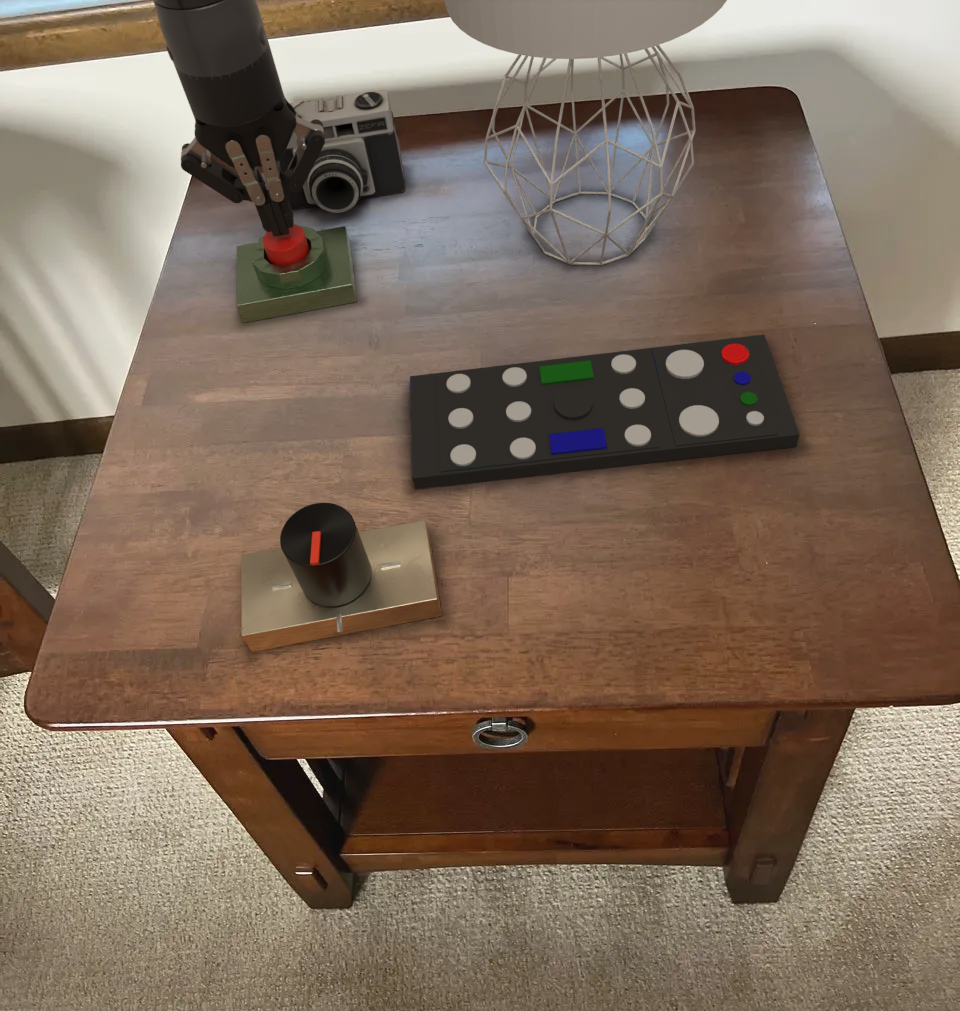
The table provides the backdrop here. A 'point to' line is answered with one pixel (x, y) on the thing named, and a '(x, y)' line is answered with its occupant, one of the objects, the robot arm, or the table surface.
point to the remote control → (598, 412)
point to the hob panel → (385, 602)
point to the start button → (286, 246)
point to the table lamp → (572, 35)
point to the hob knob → (326, 554)
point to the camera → (349, 152)
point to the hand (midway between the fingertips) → (281, 230)
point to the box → (295, 277)
